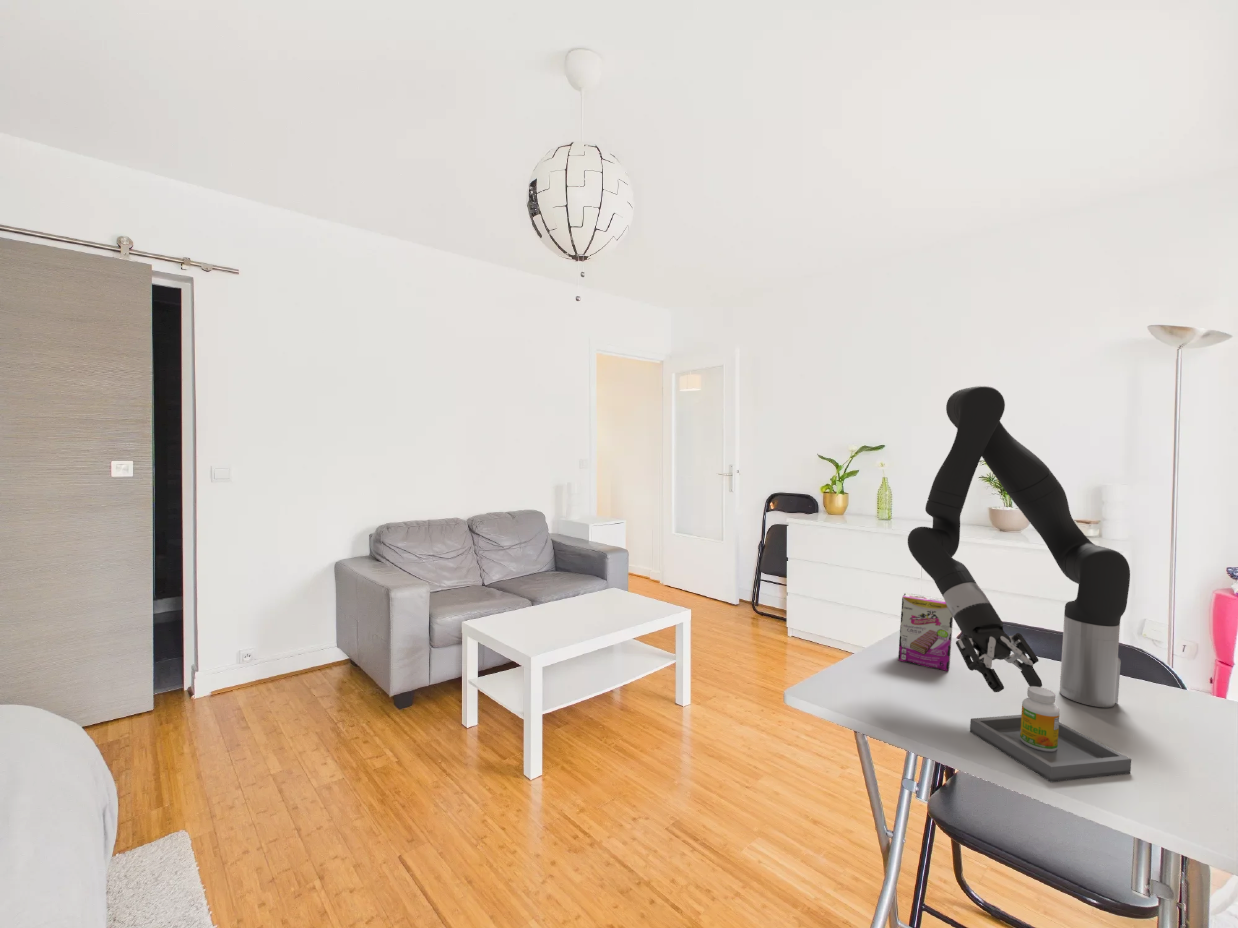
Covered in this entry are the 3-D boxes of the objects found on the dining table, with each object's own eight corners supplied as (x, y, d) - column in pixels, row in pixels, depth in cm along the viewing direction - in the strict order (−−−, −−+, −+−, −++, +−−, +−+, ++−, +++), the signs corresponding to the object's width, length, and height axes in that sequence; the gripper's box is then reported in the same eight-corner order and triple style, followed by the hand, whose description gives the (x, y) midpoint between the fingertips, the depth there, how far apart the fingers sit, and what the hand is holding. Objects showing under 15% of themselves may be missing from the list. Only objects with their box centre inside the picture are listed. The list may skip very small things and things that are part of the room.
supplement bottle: (1015, 742, 102) (1018, 688, 101) (1025, 733, 105) (1028, 681, 105) (1051, 755, 97) (1055, 700, 97) (1061, 746, 101) (1064, 692, 100)
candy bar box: (897, 661, 141) (901, 596, 140) (900, 655, 145) (903, 592, 144) (949, 672, 135) (953, 604, 134) (950, 665, 139) (954, 599, 138)
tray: (1040, 725, 109) (1041, 713, 109) (1130, 773, 94) (1131, 758, 94) (969, 731, 106) (970, 718, 106) (1050, 782, 91) (1051, 766, 90)
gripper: (952, 602, 112) (1000, 683, 101) (1012, 600, 115) (1064, 678, 104) (931, 620, 117) (974, 699, 107) (989, 617, 120) (1036, 694, 110)
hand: (1018, 689), depth 105 cm, fingers open, 8 cm apart
